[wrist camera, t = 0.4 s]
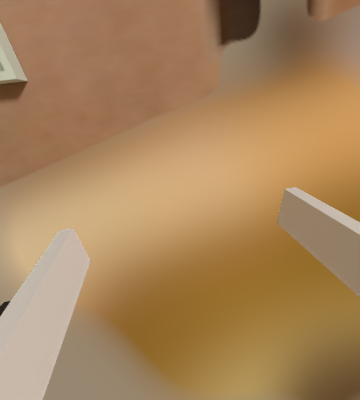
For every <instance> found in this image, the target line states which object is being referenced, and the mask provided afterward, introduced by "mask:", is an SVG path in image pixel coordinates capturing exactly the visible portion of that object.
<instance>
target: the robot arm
mask: <svg viewBox="0 0 360 400" xmlns="http://www.w3.org/2000/svg"><path fill="white" fill-rule="evenodd" d="M277 223H278V224H279V225H280V226H281V227H282V228H283V229H284V230H285V231H287V232H288V233H289V234H290V235H291V236H292V237H293V238H294V239H295V240H297V241H298V242H299V243H300V244H301V245H302V246H303V247H304V248H305V249H307V250H308V251H309V252H310V253H311V254H312V255H313V256H314V257H315V258H317V259H318V260H319V261H320V262H321V263H322V264H324V266H325V267H327V268H328V269H329V270H330V271H331V272H332V273H333V274H334V275H336V276H337V277H338V278H339V279H340V280H341V281H342V282H343V283H345V285H347V286H348V287H349V288H350V289H351V290H352V291H353V292H354V293H356V294H357V295H358V296H359V297H360V222H358V221H356V220H354V219H352V218H350V217H349V216H347V215H345V214H343V213H341V212H340V211H338V210H336V209H334V208H332V207H331V206H329V205H327V204H325V203H323V202H322V201H320V200H318V199H316V198H314V197H312V196H311V195H309V194H307V193H305V192H303V191H301V190H300V189H298V188H296V187H294V188H289V189H285V191H284V194H283V199H282V203H281V207H280V212H279V216H278V220H277ZM89 264H90V259H89V257H88V255H87V253H86V251H85V249H84V248H83V246H82V244H81V242H80V240H79V238H78V236H77V234H76V233H75V231H74V229H73V228H70V229H65V230H60V231H58V233H57V234H56V236H55V237H54V239H53V240H52V241H51V243H50V244H49V246H48V247H47V249H46V250H45V252H44V253H43V255H42V256H41V258H40V259H39V261H38V262H37V263H36V265H35V266H34V268H33V269H32V271H31V273H30V274H29V275H28V277H27V278H26V280H25V281H24V283H23V284H22V285H21V287H20V288H19V290H18V291H17V293H16V294H15V296H14V297H13V299H12V300H11V301H8V302H4V303H3V304H2V305H1V306H0V400H43V397H44V394H45V391H46V388H47V385H48V382H49V380H50V377H51V374H52V371H53V368H54V365H55V362H56V359H57V356H58V354H59V351H60V348H61V345H62V342H63V339H64V336H65V334H66V330H67V328H68V325H69V322H70V319H71V316H72V313H73V310H74V308H75V304H76V302H77V299H78V296H79V293H80V290H81V287H82V284H83V282H84V279H85V276H86V273H87V270H88V267H89Z"/></svg>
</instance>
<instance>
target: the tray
mask: <svg viewBox="0 0 360 400" xmlns="http://www.w3.org/2000/svg"><path fill="white" fill-rule="evenodd" d="M24 81H27V78H26V76H25V74H24V72H23V70H22V68H21V66H20V63H19V61H18V59H17V57H16V55H15V53H14V51H13V48H12V46H11V44H10V42H9V40H8V38H7V35H6V33H5V31H4V29H3V27H2V25H1V23H0V84H7V83H16V82H24Z"/></svg>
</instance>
